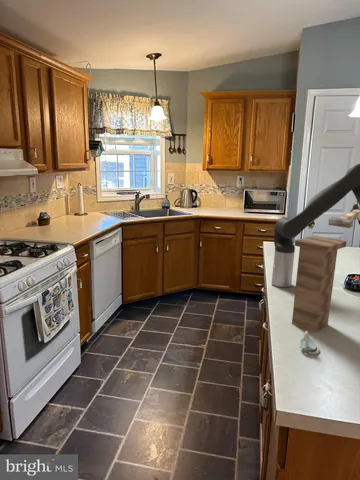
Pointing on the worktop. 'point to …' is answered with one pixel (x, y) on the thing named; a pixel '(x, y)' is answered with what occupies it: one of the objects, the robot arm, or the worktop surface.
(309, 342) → the pacifier
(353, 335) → the worktop surface
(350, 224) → the beige block
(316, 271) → the stand
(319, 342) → the worktop surface
